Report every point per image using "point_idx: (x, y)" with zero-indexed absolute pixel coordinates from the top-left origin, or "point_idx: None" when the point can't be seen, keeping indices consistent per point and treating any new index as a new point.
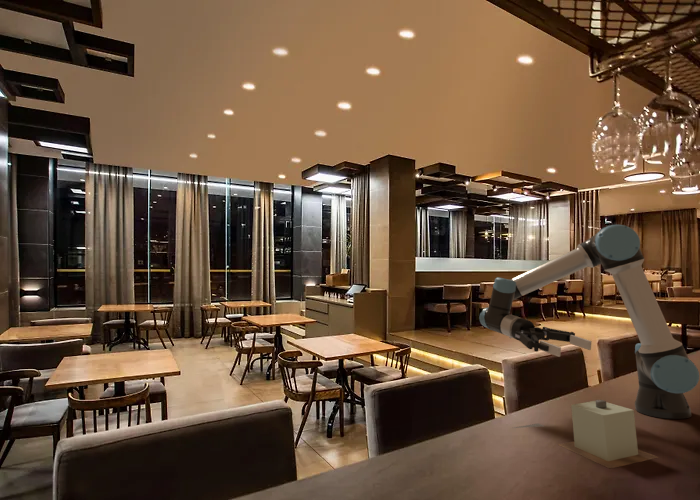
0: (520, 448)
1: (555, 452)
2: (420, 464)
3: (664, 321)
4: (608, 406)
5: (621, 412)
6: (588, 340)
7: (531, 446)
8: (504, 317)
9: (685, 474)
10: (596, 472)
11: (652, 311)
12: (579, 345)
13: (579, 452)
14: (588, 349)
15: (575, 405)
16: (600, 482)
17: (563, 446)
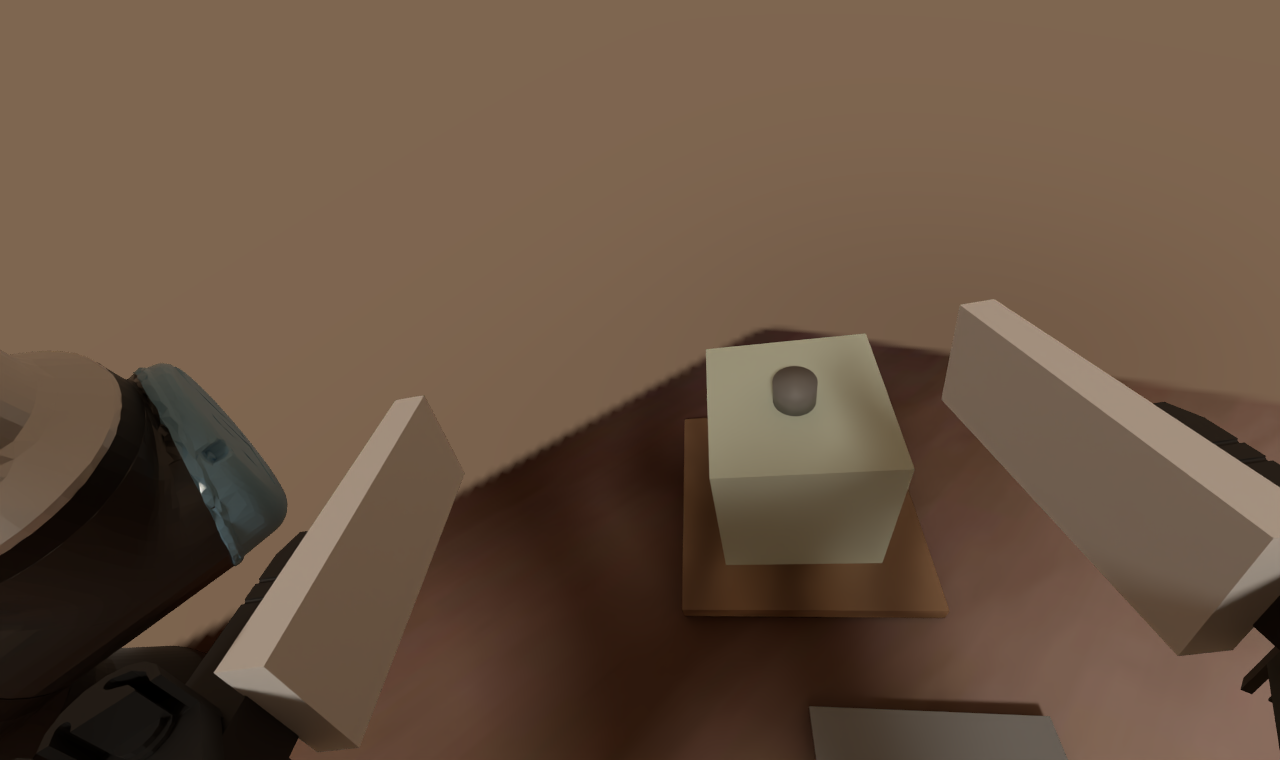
0: (1153, 720)
1: (969, 602)
2: None
3: None
4: (756, 399)
5: (770, 343)
6: (391, 419)
7: (1071, 715)
8: None
9: (692, 378)
10: (909, 436)
11: None
12: (416, 564)
13: (899, 515)
14: (458, 477)
15: (897, 452)
16: (937, 395)
17: (932, 582)
